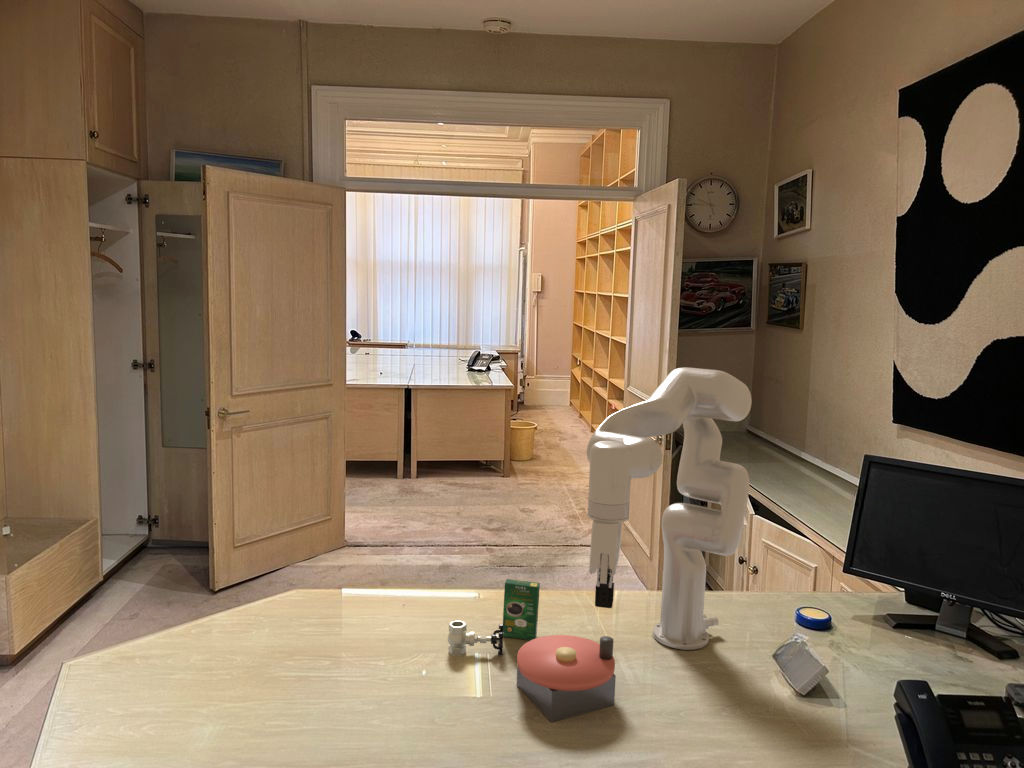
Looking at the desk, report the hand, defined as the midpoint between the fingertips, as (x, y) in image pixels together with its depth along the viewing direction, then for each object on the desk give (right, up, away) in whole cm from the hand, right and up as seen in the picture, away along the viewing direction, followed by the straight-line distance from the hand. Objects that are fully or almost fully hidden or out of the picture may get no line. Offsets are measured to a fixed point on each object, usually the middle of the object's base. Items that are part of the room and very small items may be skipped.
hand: (604, 604), depth 137 cm
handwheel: (-7, -14, +7) cm, 17 cm away
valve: (-25, -18, +23) cm, 39 cm away
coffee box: (-15, -17, +31) cm, 39 cm away
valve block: (-7, -20, +8) cm, 23 cm away
